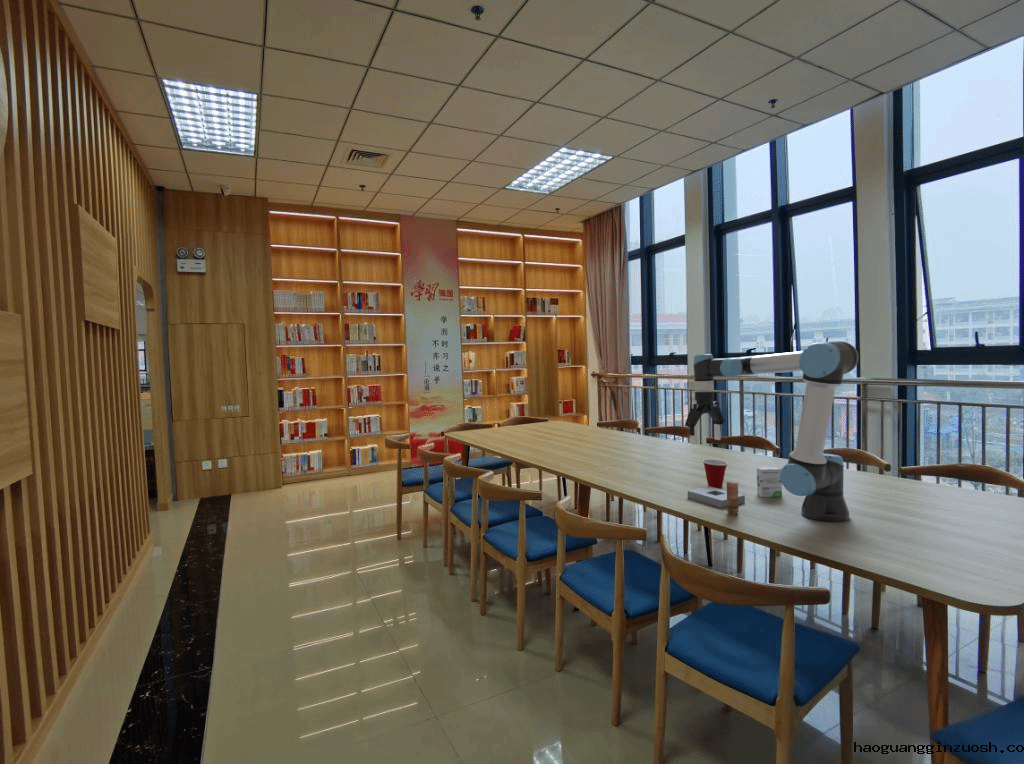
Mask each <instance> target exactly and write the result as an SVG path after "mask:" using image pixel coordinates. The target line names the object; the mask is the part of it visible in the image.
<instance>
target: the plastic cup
mask: <svg viewBox="0 0 1024 764" xmlns="http://www.w3.org/2000/svg"><path fill="white" fill-rule="evenodd" d="M702 463H703V466H704V470H705V476H706V482H707V487H708V486H711V487H715V488H718V489H722V488H723V486H724V484H723V483H724V479H725V473H726V470H727V469H726V468H727V466H728V465H729V463H728V462H727V461H724V460H723V461H722V460H718V459H703V460H702Z"/></svg>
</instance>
